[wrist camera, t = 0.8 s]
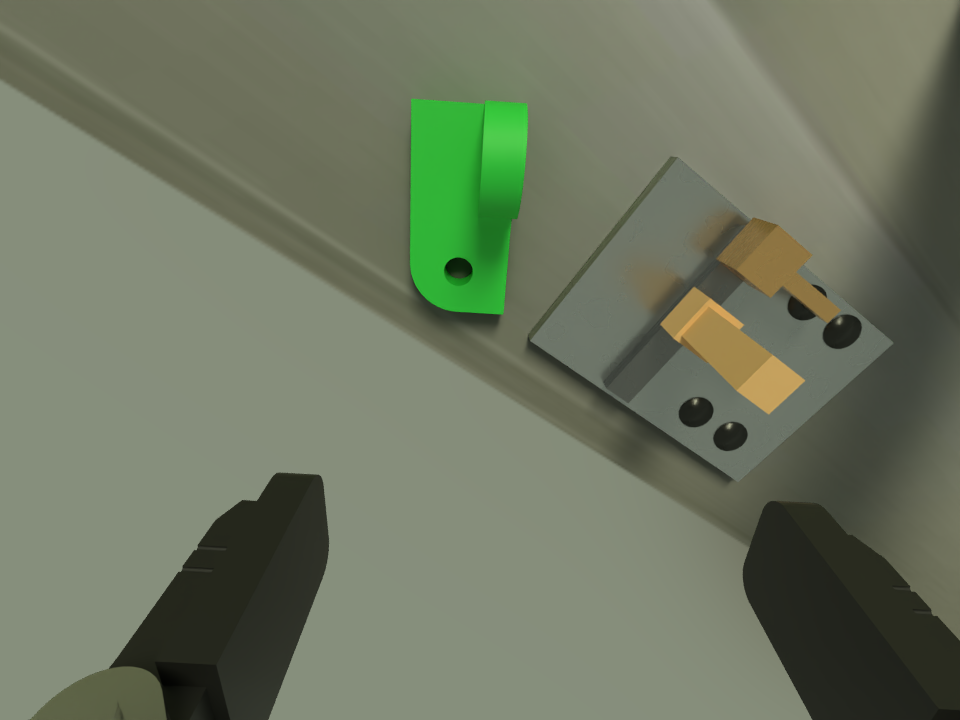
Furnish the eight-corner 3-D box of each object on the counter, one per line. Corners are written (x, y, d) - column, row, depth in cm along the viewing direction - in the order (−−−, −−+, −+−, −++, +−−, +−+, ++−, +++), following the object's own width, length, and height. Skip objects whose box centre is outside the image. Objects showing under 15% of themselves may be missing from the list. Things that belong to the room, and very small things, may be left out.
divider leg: (687, 281, 32) (775, 344, 23) (771, 347, 34) (885, 431, 24) (654, 318, 33) (725, 393, 24) (737, 380, 35) (834, 473, 26)
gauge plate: (671, 156, 31) (703, 160, 26) (881, 336, 35) (939, 365, 31) (528, 334, 35) (535, 363, 31) (730, 472, 40) (762, 515, 35)
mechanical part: (415, 100, 30) (394, 90, 22) (518, 108, 30) (531, 100, 22) (413, 299, 34) (395, 344, 27) (501, 304, 35) (507, 350, 27)
